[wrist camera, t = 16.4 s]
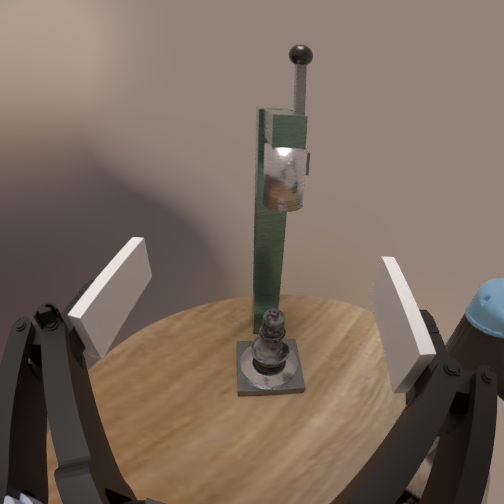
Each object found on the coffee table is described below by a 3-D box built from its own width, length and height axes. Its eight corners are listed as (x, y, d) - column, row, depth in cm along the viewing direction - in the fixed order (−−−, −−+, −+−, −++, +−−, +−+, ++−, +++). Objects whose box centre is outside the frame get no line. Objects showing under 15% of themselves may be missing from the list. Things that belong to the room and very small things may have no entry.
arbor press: (288, 316, 53) (311, 48, 29) (303, 392, 39) (364, 22, 14) (236, 318, 53) (234, 44, 28) (238, 396, 38) (232, 6, 14)
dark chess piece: (244, 355, 43) (243, 300, 36) (276, 343, 45) (282, 288, 39) (260, 383, 38) (264, 330, 32) (294, 368, 40) (306, 315, 34)
